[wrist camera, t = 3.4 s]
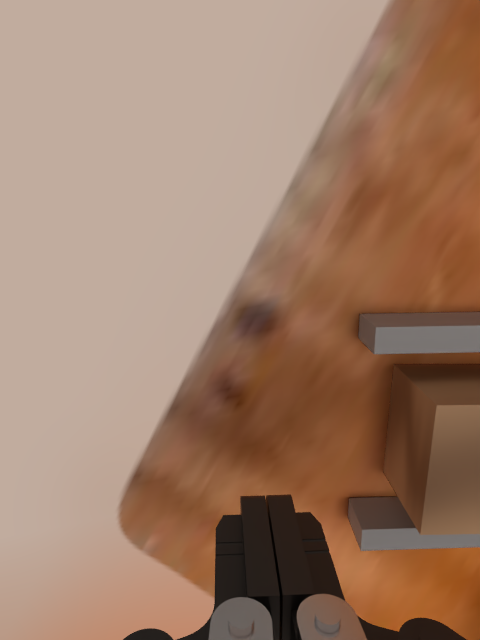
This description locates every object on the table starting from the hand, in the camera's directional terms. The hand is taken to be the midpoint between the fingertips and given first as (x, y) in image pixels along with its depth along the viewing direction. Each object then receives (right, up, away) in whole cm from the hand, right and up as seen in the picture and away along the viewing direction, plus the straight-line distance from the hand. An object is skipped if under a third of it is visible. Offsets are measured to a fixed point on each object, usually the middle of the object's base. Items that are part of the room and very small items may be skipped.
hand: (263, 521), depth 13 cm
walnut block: (+8, +2, +6) cm, 10 cm away
